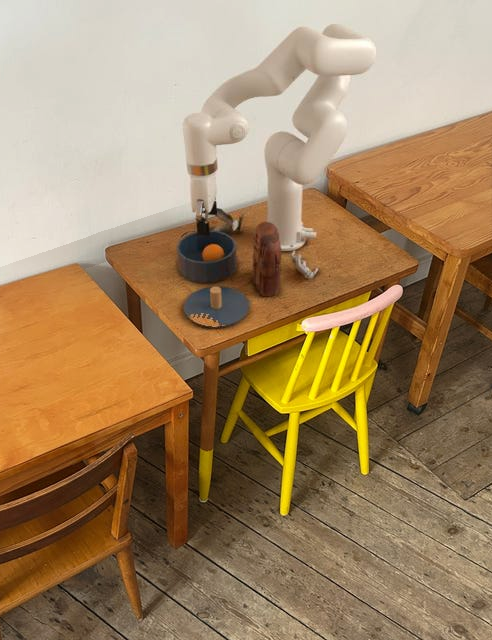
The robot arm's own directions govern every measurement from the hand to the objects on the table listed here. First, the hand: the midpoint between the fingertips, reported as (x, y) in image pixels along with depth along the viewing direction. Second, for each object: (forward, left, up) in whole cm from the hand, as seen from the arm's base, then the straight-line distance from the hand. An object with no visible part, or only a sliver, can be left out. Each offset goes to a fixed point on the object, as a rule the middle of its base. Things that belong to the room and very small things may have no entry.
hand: (207, 224), depth 193 cm
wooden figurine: (-16, +6, -13) cm, 22 cm away
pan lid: (-5, +19, -12) cm, 23 cm away
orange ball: (-1, 0, -10) cm, 10 cm away
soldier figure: (-25, -1, -13) cm, 29 cm away
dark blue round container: (+1, 0, -13) cm, 13 cm away
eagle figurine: (-1, -18, -13) cm, 22 cm away
